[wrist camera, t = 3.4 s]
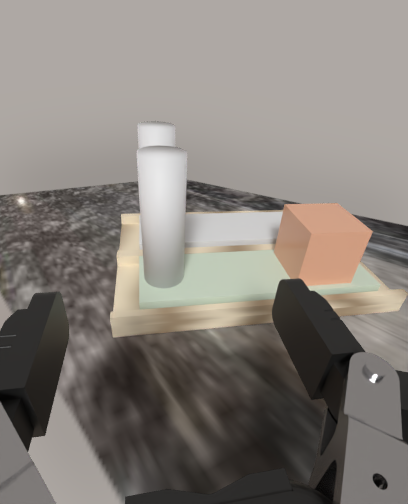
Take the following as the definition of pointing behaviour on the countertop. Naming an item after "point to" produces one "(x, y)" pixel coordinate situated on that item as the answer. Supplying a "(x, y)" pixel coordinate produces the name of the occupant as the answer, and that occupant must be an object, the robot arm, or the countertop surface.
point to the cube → (320, 243)
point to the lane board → (222, 314)
